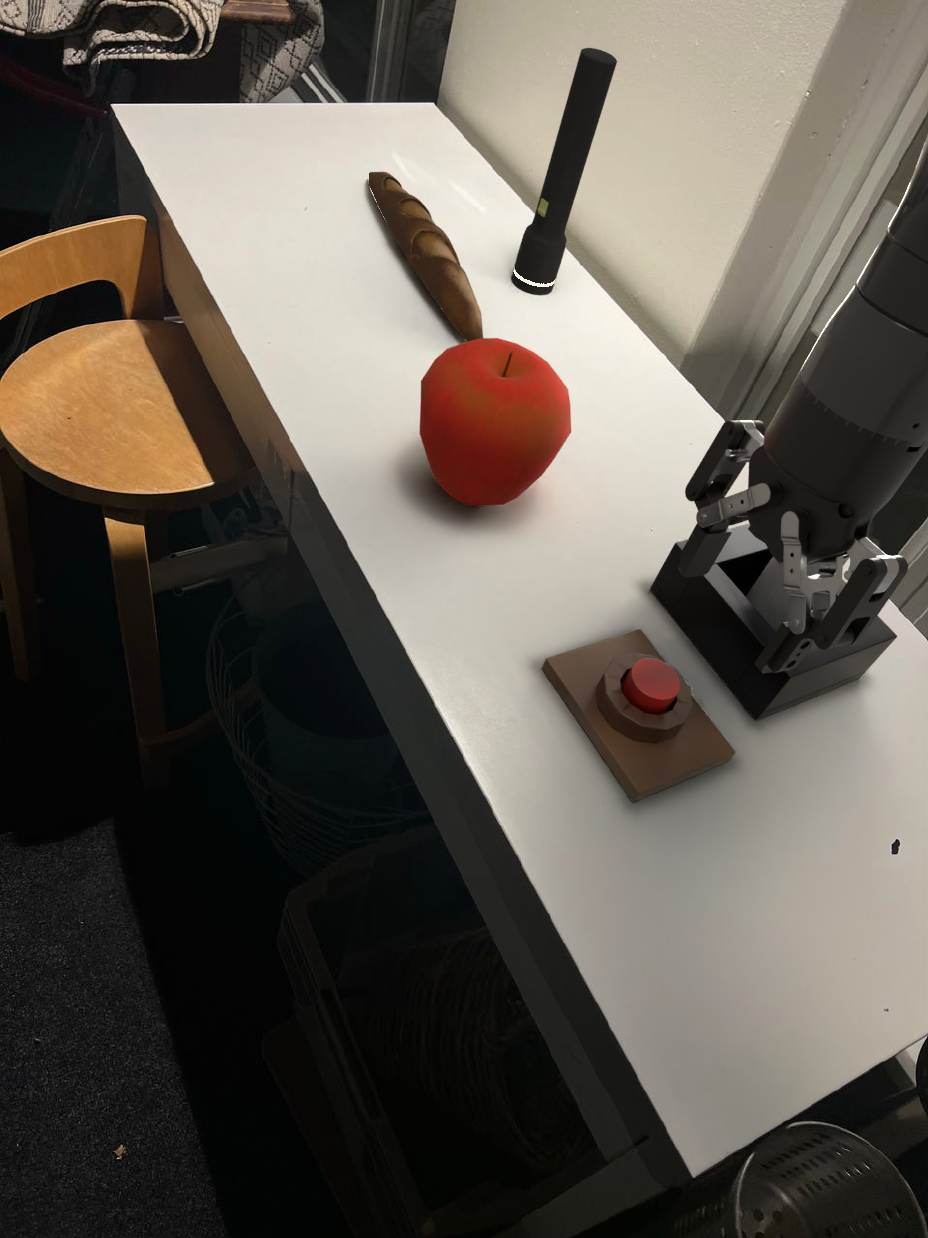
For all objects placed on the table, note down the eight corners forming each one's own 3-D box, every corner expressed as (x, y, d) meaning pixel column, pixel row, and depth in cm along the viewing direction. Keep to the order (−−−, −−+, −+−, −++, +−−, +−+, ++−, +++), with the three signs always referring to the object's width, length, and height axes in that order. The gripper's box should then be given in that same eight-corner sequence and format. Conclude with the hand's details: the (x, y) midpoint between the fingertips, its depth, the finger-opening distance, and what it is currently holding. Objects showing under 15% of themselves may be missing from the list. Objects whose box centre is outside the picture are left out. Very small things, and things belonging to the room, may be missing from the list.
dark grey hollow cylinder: (733, 598, 75) (793, 507, 67) (784, 613, 75) (850, 524, 68) (735, 638, 72) (799, 548, 64) (789, 653, 72) (858, 565, 65)
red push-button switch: (729, 761, 65) (747, 738, 63) (632, 802, 61) (649, 779, 59) (634, 637, 71) (648, 613, 69) (541, 667, 67) (552, 642, 65)
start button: (680, 705, 64) (690, 691, 63) (641, 720, 62) (651, 706, 61) (651, 667, 66) (660, 652, 64) (612, 680, 64) (621, 665, 63)
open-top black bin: (859, 678, 73) (898, 636, 69) (755, 721, 68) (790, 677, 64) (751, 559, 80) (780, 514, 76) (649, 589, 75) (674, 542, 71)
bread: (502, 360, 93) (514, 316, 89) (458, 361, 91) (469, 317, 87) (386, 180, 114) (392, 139, 110) (348, 178, 112) (353, 137, 108)
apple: (566, 509, 79) (621, 374, 69) (467, 558, 73) (513, 417, 62) (473, 428, 84) (512, 291, 74) (373, 467, 77) (400, 322, 67)
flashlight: (534, 268, 107) (502, 274, 105) (600, 43, 90) (564, 43, 87) (561, 291, 105) (529, 297, 102) (634, 64, 87) (598, 65, 85)
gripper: (737, 321, 49) (624, 549, 59) (921, 480, 40) (751, 713, 51) (832, 328, 52) (709, 542, 63) (1020, 476, 44) (842, 694, 54)
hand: (728, 618), depth 57 cm, fingers open, 8 cm apart
